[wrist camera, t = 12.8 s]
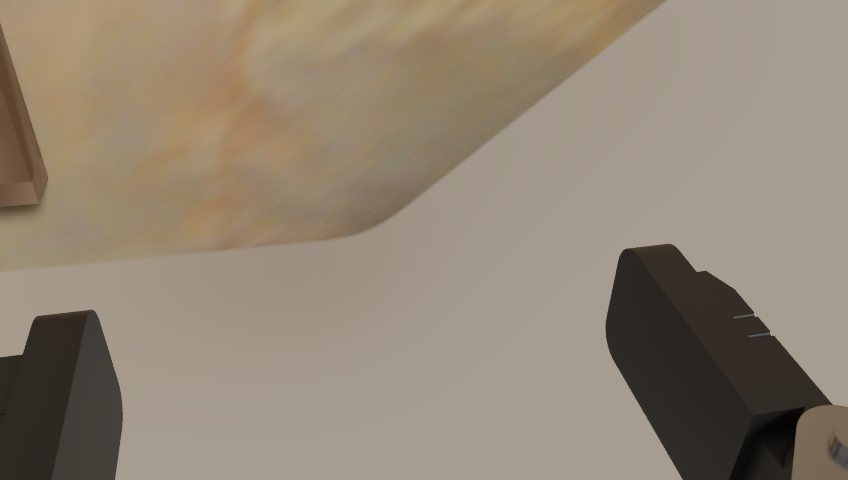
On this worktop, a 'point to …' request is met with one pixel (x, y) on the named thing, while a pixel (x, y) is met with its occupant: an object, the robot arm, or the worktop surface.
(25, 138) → the egg rail
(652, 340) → the robot arm
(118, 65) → the worktop surface
